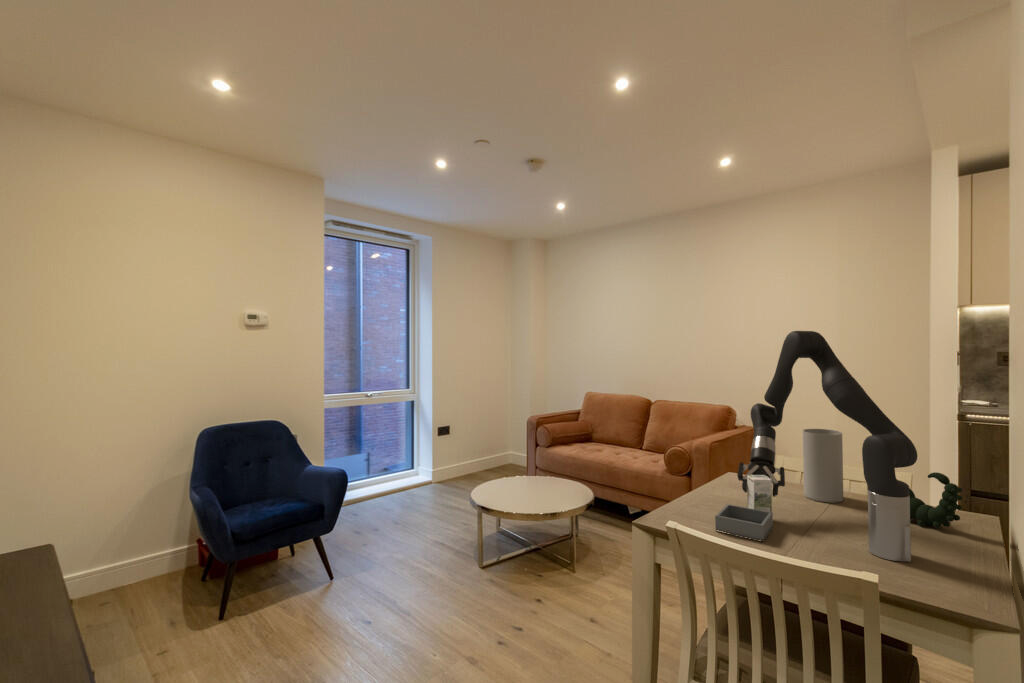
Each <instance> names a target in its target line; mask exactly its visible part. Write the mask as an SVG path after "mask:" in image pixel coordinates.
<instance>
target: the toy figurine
mask: <svg viewBox="0 0 1024 683" xmlns="http://www.w3.org/2000/svg"><path fill="white" fill-rule="evenodd" d="M927 478H928V479H930V478H933V479H935V480H937V481H939V482H940V483H941V484H942V485H944V487H943V492H942V493H941V498H940V499H939V501H938V505H936V507H934V506H933V505H929V504H926V503H925V502H924V501H923V500H922V499H920V498H918V497H916V495H915V493H914V491H913V490H912V489H911V488H910V487H909V489H910V521H911V520H912V519H914V520H917V526H919V527H921V526H922V527H926V525H927V526H933V527H934V528H935V529H941V528H942V526H943V527H946V528H947V527H948V528H949V527H950V526H951V522H954V521H956V522H957V521H960V520H961V516H960V515H958V514H956V511H960V510H962V509H963V506H962V505H961V504H958V502H959V501H962V500H963V496H962V495H959V494H960V493H962V492H963V489H962V488H961V487H960V486H958V485H957V484H955V483H953V482H951V481H950V478H949V477H948V476H946V474H943V473H941V472H930V473H929V474H928V475H927Z"/></svg>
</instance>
